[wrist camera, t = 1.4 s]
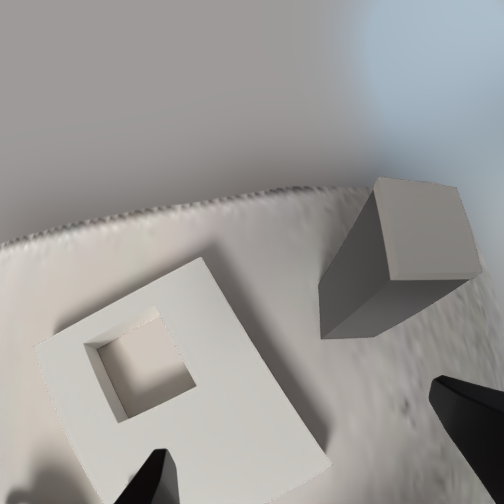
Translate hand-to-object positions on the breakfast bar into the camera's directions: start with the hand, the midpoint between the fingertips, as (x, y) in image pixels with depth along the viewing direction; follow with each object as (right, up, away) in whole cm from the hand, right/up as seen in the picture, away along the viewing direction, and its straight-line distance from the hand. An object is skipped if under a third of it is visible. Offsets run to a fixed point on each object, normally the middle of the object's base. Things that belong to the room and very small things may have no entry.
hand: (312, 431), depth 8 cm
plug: (+6, +1, +16) cm, 17 cm away
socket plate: (-8, -7, +12) cm, 16 cm away
